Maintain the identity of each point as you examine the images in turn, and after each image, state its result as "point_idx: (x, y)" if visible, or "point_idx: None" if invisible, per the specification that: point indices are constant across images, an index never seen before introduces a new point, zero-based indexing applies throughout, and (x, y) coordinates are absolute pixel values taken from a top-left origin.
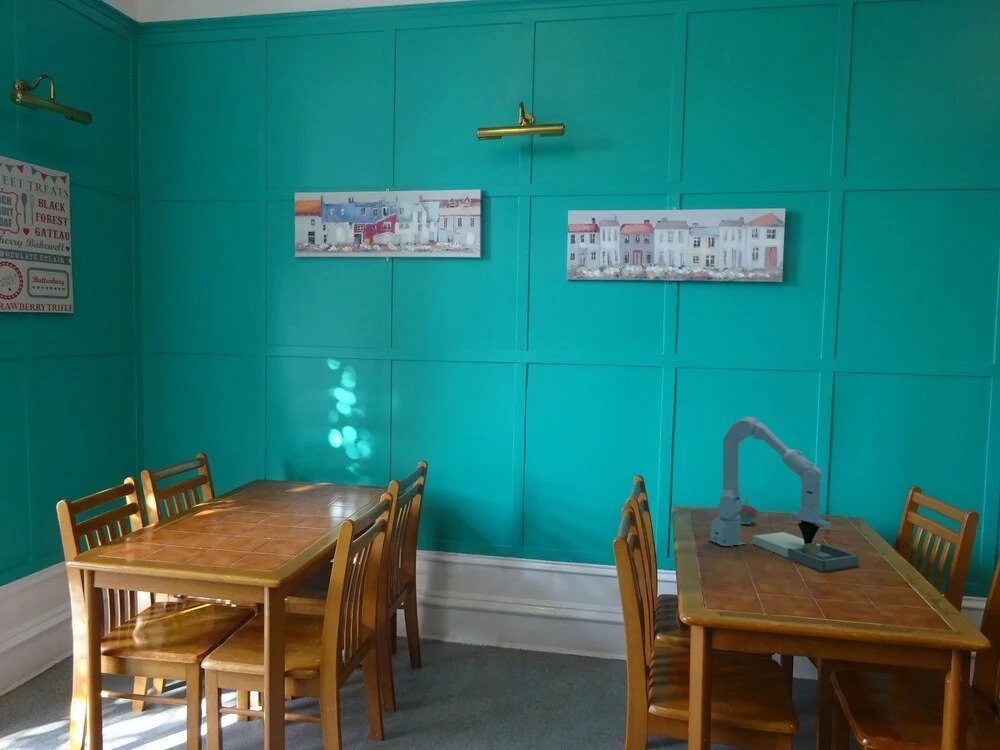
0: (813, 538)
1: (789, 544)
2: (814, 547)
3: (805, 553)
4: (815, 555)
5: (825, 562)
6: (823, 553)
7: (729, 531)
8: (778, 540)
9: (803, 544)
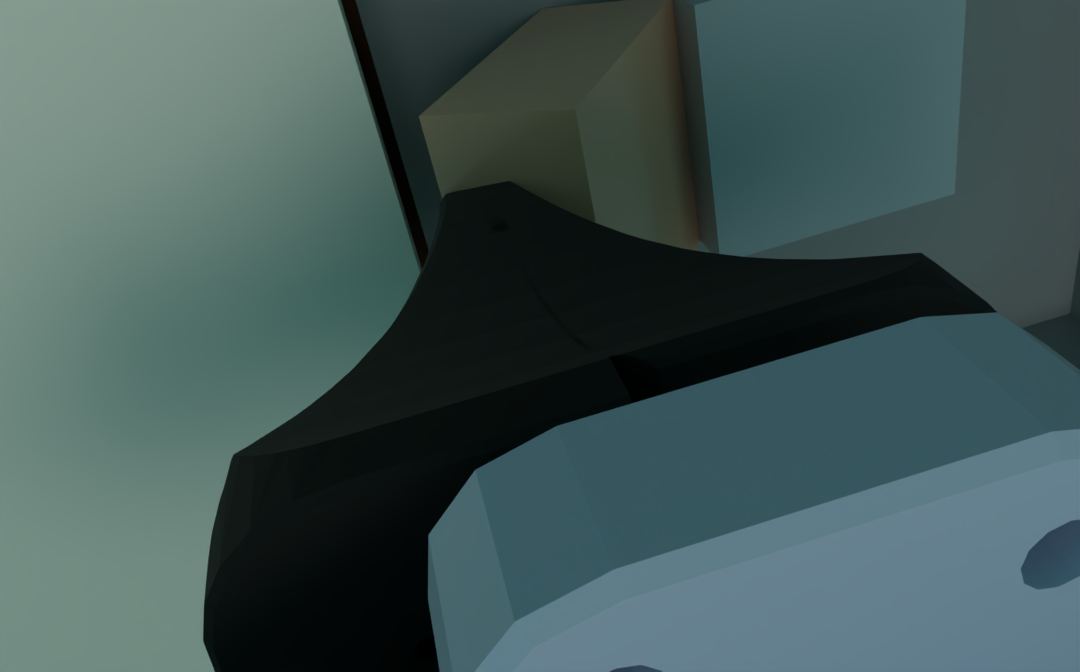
0: (576, 216)
1: (196, 478)
2: (634, 169)
3: (394, 179)
4: (785, 231)
5: None
6: (807, 40)
7: None
8: None
9: (180, 174)
